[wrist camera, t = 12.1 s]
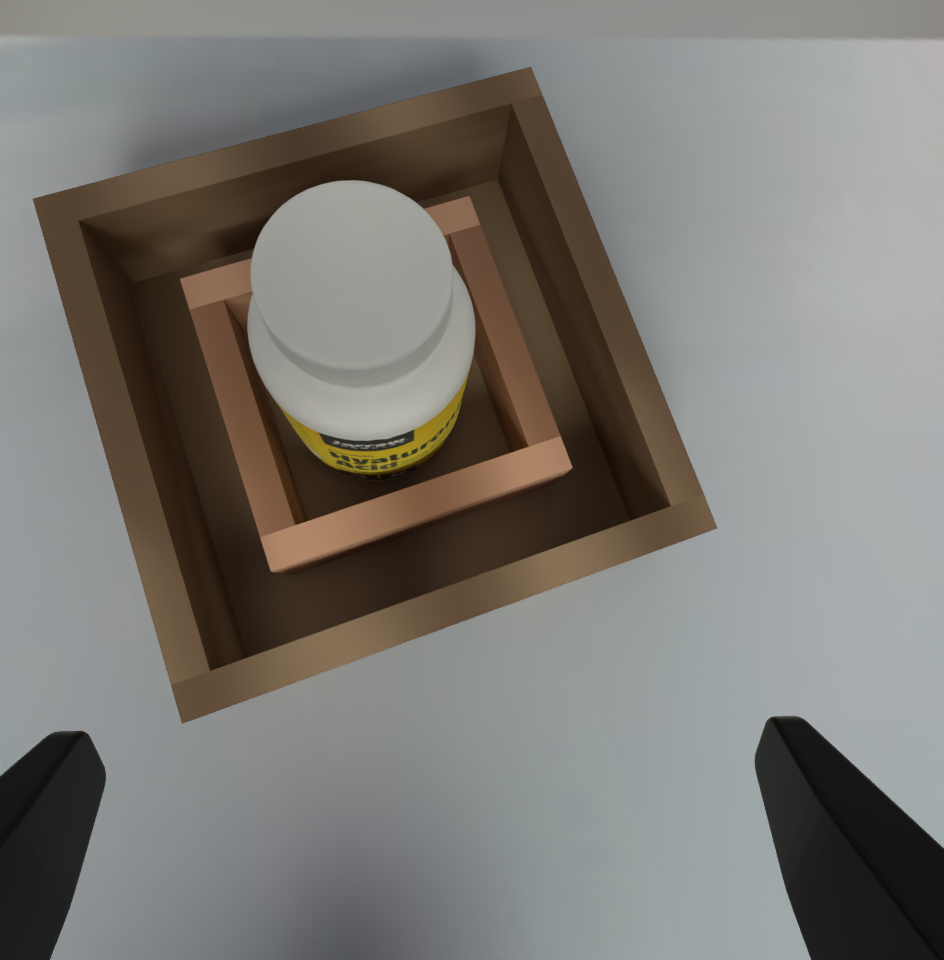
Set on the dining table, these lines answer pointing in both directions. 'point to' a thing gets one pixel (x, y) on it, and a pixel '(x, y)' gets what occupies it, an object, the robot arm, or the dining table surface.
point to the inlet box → (282, 453)
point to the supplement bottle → (361, 327)
